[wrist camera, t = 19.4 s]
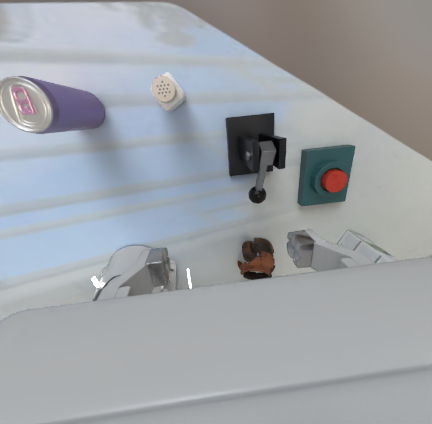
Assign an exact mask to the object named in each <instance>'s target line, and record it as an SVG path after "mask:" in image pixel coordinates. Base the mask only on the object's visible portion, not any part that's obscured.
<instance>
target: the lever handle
mask: <svg viewBox="0 0 432 424" xmlns="http://www.w3.org/2000/svg"><path fill="white" fill-rule="evenodd" d="M275 154H276V149H275V146H274V144H273V142H272V141H265V142H259V171H258V174H257V180H256V186H255V187H253V188H251V190H250V191H249V199H250V200H251V201H252V202H253V203H261V202H263V201H264V200H265V198H266V191H265V189H264V188H263V183H264V179H265V174H266V170H267V165H273V162H274V158H275Z"/></svg>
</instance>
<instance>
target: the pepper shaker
mask: <svg viewBox="0 0 432 424" xmlns="http://www.w3.org/2000/svg"><path fill="white" fill-rule="evenodd" d="M150 91H151V93H152V95H153V96H154V97H155V99H156V100H157V101H158V103H159V104H160V105H161V106H162V108H163V109H164V110H166V111H170V112H171V111H173V110H175V109H176V108H177V107H178V106H179V105H180V104H181V103H182V102H184V101H185V99H186V97H185V94H184V92H183V91H182V89H181V88H180V86H179V85H178V84H177V82H176V81H175V79H174V78H173V77H172V75H171V74H170V73H168V72H167V73H164V74H163V75H160V76H158V77H156V78H155V79H154V81H153V83H152V86H151V88H150Z"/></svg>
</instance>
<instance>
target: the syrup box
mask: <svg viewBox="0 0 432 424" xmlns="http://www.w3.org/2000/svg"><path fill="white" fill-rule="evenodd" d="M337 245H339V246H342V247H345V248H347V249H350V250H353V251H356V252H359V253H362V254H364V255H366V256H367V257H368V258H370V259H371V260H372V261H373V262H375V263H376V264H377V263H384V262H392V261H399V260H397V259H396V258H394V257H393V256H391V255H390V254H388V253H387V252H386V251H384V250H383V249H381V248H380V247H378V246H377V245H375V244H374V243H373V242H371V241H370V240H368V239H367V238H365V237H364V236H361V235H359V234H356V233H354V232H351V231H349V230H348V231H347V232H346V233H345V234H344V236H343V237H342V238H341V240H340V241H339V242H338V244H337Z"/></svg>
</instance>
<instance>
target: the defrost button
mask: <svg viewBox="0 0 432 424" xmlns="http://www.w3.org/2000/svg"><path fill="white" fill-rule="evenodd" d="M346 182H347V175H346V174H345V173H344V172H342V171H340V170H337V169H331V170H329V171H327V172H326V173H325V174H324V175H323V177H322V179H321V185H322V187H323V188H324V189H326V190H328V191H329V192H338V191H340V190H341V189H342V188H343V187H344V186H345V185H346Z"/></svg>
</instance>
